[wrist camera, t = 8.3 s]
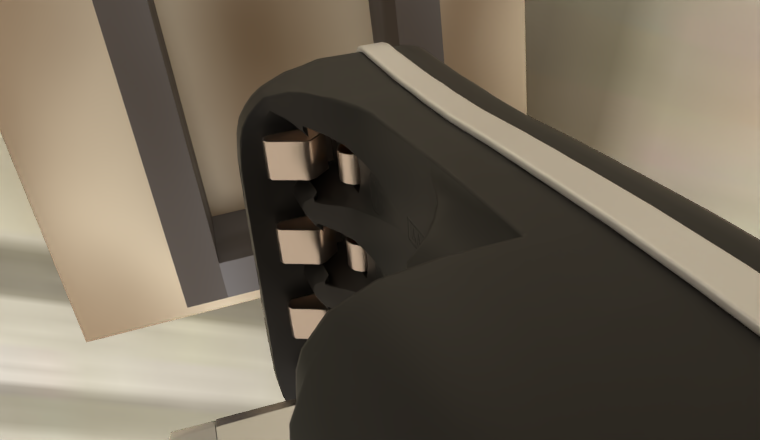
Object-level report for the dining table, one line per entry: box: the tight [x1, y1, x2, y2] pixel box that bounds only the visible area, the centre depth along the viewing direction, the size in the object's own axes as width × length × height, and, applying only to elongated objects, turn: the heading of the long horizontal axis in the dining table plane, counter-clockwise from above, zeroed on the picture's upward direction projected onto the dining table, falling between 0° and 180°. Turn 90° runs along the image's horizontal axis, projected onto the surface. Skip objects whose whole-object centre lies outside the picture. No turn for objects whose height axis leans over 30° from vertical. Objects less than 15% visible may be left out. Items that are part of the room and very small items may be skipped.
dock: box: [0, 0, 527, 342], centre depth 21 cm, size 16×16×4 cm
